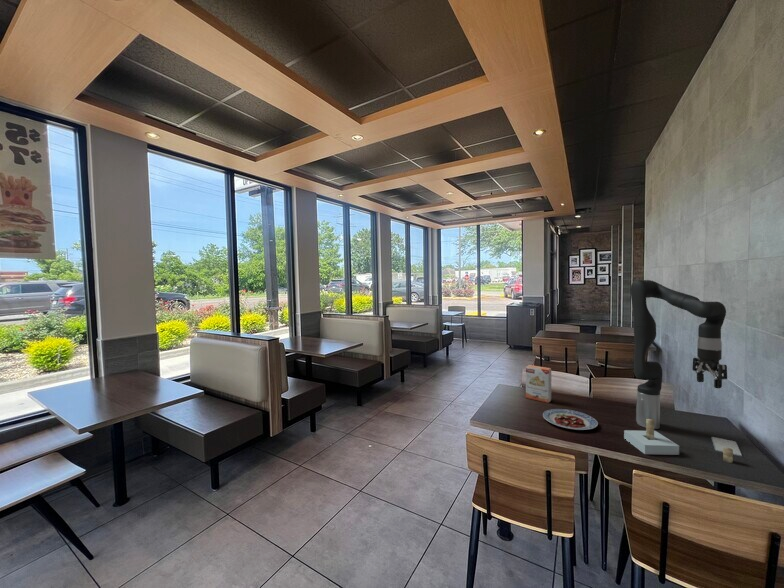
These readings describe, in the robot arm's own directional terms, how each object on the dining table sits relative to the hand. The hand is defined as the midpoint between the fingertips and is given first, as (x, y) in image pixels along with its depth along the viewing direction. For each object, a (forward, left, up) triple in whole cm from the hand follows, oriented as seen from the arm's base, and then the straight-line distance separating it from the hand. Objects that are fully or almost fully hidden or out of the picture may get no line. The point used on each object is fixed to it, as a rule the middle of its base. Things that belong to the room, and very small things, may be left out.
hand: (708, 384), depth 141 cm
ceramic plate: (-29, -45, -30) cm, 61 cm away
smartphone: (-5, +12, -30) cm, 33 cm away
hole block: (-4, -21, -30) cm, 37 cm away
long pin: (-4, -21, -30) cm, 37 cm away
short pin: (+7, +2, -30) cm, 30 cm away
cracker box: (-62, -49, -30) cm, 84 cm away
